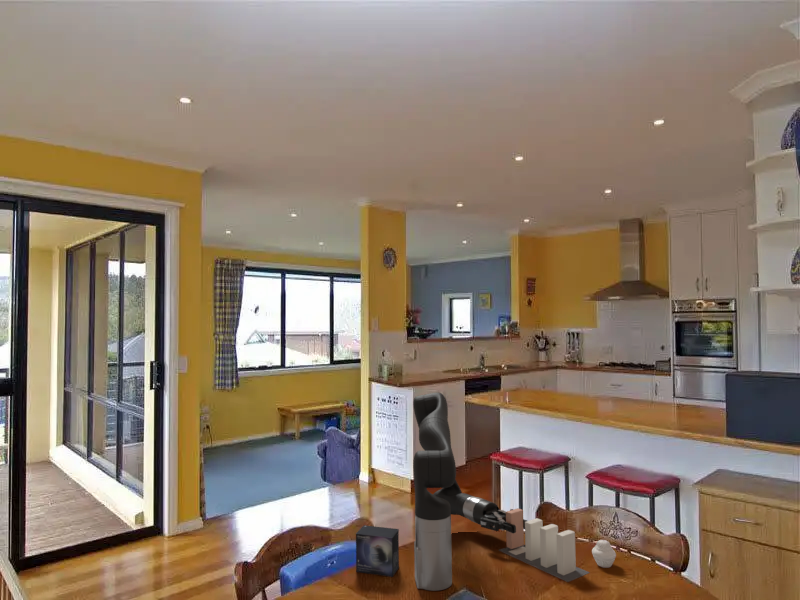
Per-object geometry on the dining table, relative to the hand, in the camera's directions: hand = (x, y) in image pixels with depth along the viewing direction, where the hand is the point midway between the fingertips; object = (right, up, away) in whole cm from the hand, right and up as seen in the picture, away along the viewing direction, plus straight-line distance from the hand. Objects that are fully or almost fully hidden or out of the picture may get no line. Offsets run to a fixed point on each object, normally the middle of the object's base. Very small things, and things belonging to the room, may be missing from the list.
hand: (521, 527), depth 159 cm
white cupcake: (+20, -7, -9) cm, 23 cm away
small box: (-41, -8, -10) cm, 43 cm away
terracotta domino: (-2, -6, +2) cm, 7 cm away
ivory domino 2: (+6, -7, -8) cm, 12 cm away
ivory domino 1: (+3, -7, -4) cm, 8 cm away
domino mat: (+4, -7, -6) cm, 10 cm away
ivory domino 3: (+9, -6, -13) cm, 17 cm away
